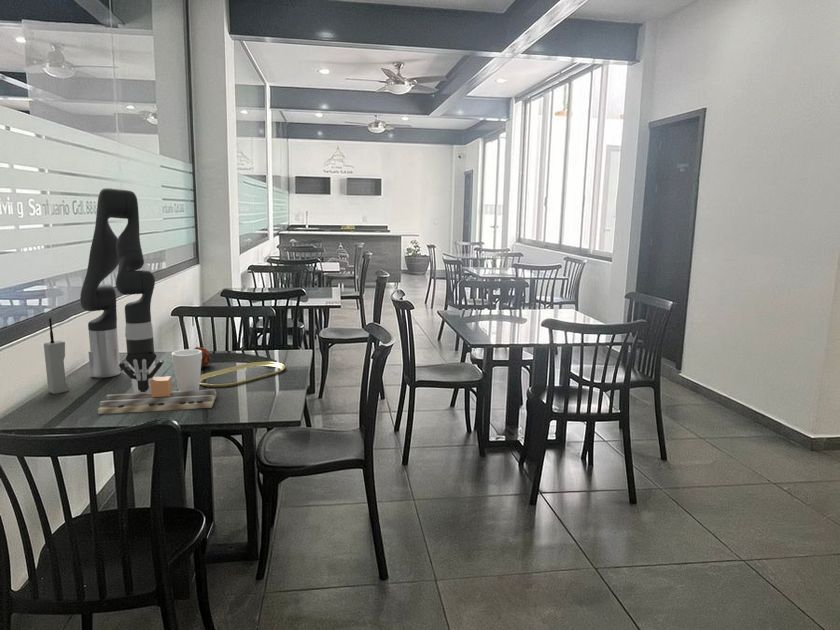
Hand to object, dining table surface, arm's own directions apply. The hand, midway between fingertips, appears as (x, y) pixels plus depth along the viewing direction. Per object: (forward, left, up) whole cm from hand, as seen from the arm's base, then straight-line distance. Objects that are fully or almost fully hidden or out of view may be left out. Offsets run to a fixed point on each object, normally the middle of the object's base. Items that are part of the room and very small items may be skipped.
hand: (143, 391), depth 185 cm
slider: (+5, 0, -3) cm, 6 cm away
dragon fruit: (+9, +47, -5) cm, 48 cm away
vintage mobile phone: (-31, +21, -5) cm, 38 cm away
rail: (+5, 0, -5) cm, 6 cm away
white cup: (-3, +15, -5) cm, 16 cm away
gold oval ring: (+27, +31, -5) cm, 41 cm away
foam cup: (+11, +15, -5) cm, 19 cm away
